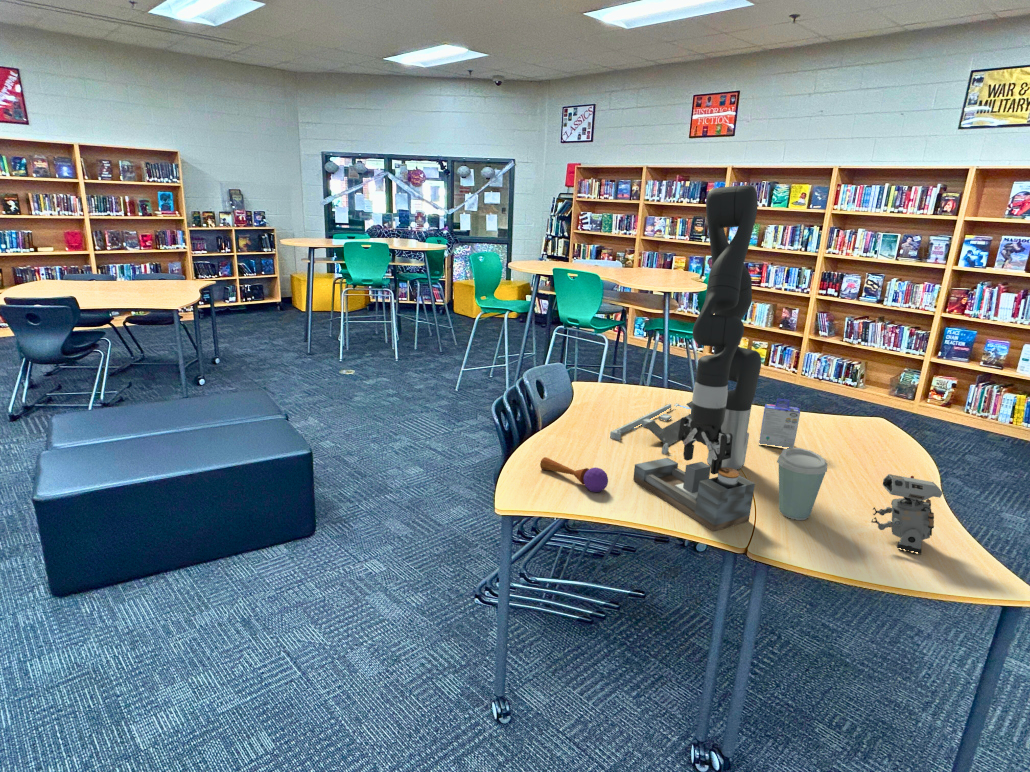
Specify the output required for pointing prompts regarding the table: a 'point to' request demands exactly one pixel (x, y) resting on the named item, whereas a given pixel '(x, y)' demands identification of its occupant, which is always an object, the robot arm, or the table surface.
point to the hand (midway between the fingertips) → (701, 466)
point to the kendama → (579, 474)
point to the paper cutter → (655, 426)
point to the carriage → (694, 478)
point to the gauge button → (728, 477)
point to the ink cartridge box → (779, 424)
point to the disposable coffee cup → (799, 481)
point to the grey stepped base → (713, 499)
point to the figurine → (909, 510)
